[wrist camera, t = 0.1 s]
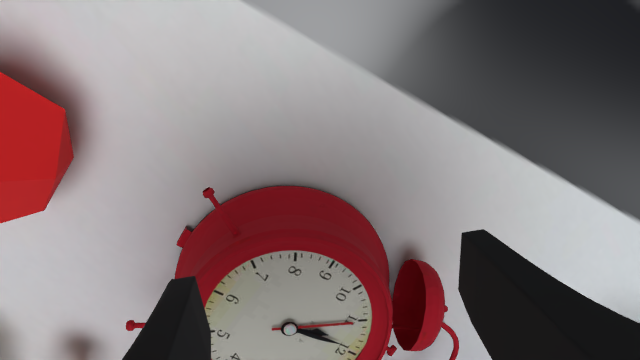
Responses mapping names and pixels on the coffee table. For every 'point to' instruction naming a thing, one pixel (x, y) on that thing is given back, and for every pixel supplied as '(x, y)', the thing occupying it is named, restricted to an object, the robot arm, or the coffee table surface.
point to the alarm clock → (304, 281)
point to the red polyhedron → (30, 149)
